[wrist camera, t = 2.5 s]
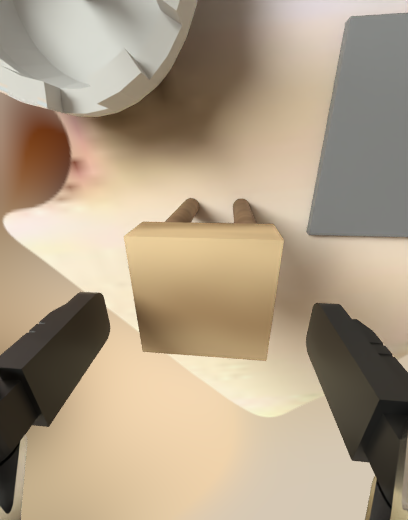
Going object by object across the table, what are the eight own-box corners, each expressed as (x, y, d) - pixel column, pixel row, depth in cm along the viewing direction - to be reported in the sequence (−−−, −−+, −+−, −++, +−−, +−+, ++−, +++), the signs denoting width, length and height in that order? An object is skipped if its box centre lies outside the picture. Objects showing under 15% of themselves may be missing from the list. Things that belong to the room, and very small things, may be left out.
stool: (179, 194, 17) (123, 236, 8) (254, 194, 17) (283, 240, 8) (182, 261, 20) (142, 351, 10) (248, 263, 19) (266, 360, 10)
